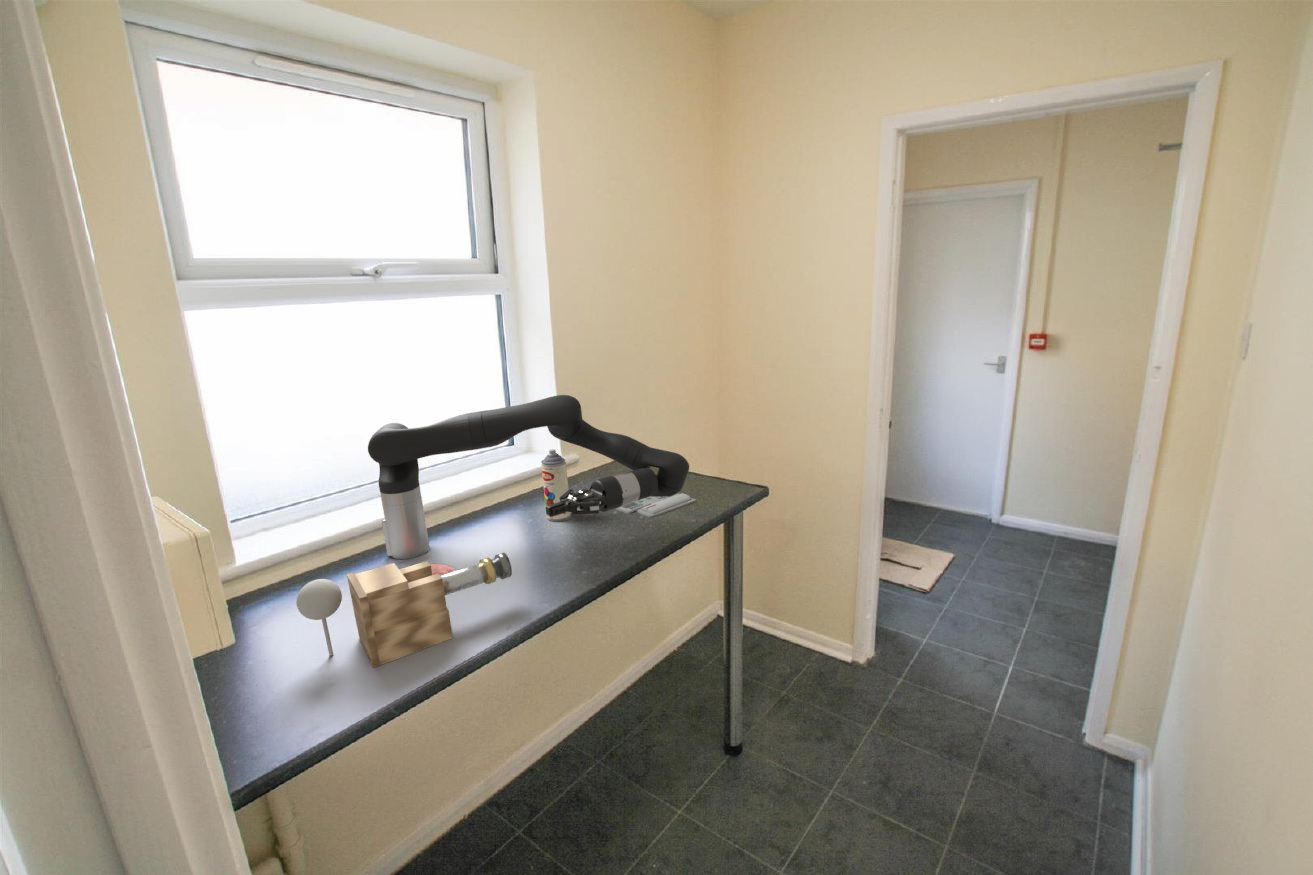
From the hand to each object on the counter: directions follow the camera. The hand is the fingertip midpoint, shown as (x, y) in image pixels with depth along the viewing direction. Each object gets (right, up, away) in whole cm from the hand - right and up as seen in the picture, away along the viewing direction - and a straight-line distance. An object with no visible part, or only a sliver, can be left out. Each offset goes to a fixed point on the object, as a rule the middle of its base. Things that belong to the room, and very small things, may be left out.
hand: (547, 511), depth 129 cm
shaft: (-15, -15, -8) cm, 22 cm away
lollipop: (-37, -24, -18) cm, 48 cm away
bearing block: (-25, -23, -14) cm, 36 cm away
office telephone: (+20, -4, +53) cm, 56 cm away
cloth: (-34, -18, +9) cm, 40 cm away
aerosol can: (-5, -7, +44) cm, 45 cm away
